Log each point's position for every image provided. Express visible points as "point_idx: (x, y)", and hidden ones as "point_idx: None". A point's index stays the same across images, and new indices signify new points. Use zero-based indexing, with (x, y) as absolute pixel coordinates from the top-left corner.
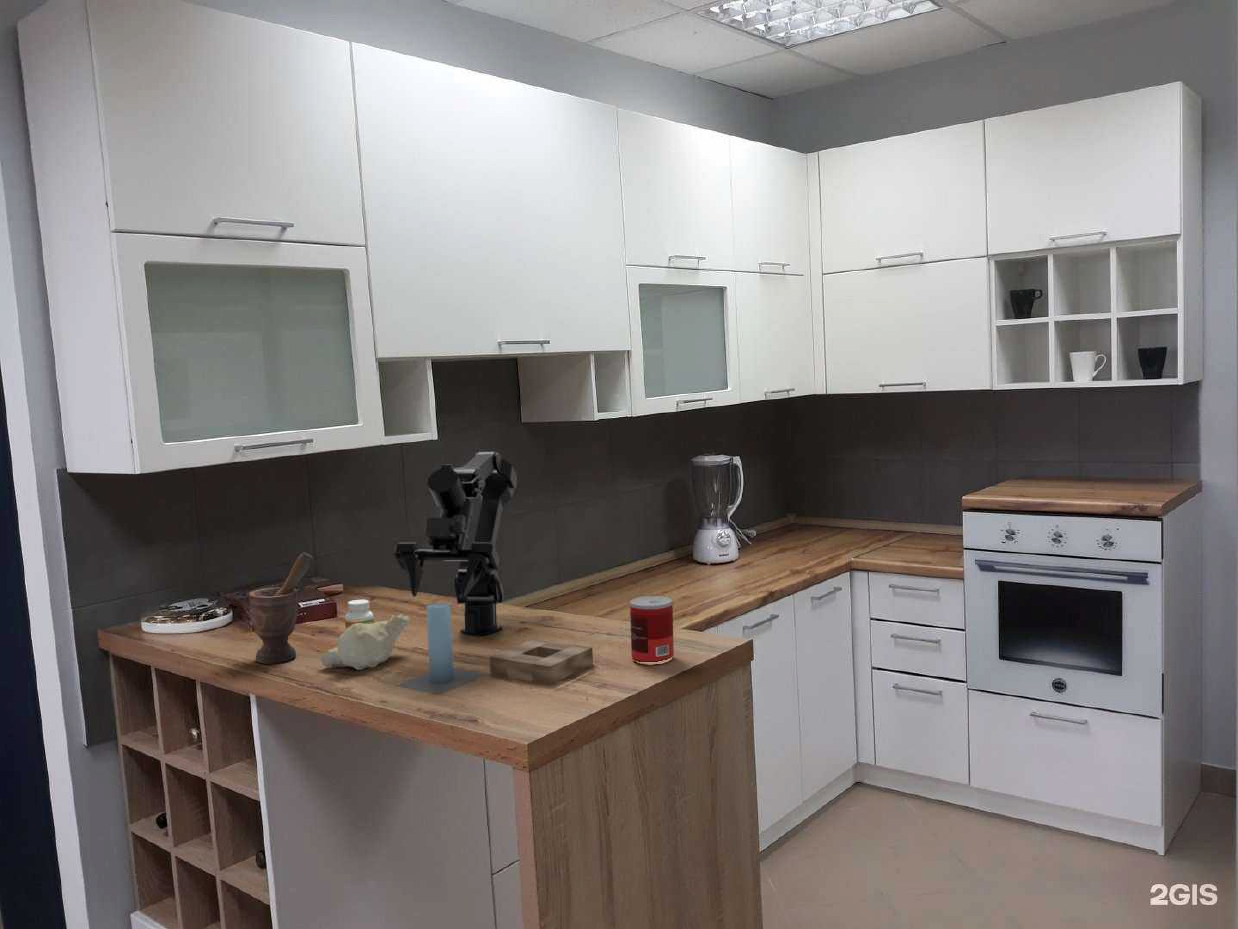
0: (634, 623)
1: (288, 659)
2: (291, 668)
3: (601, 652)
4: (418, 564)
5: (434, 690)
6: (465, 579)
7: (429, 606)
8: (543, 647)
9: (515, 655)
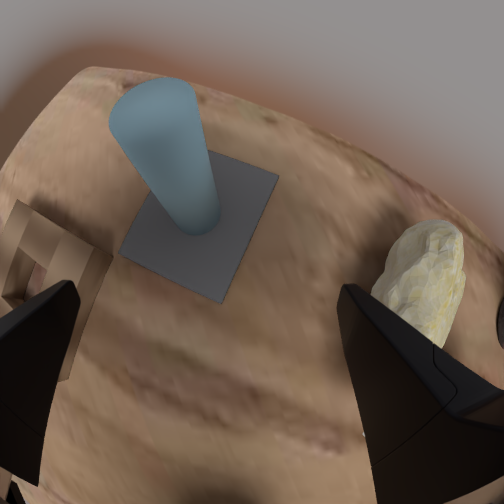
0: None
1: (500, 310)
2: (484, 280)
3: None
4: (432, 497)
5: None
6: (15, 318)
7: (184, 97)
8: None
9: (53, 260)
